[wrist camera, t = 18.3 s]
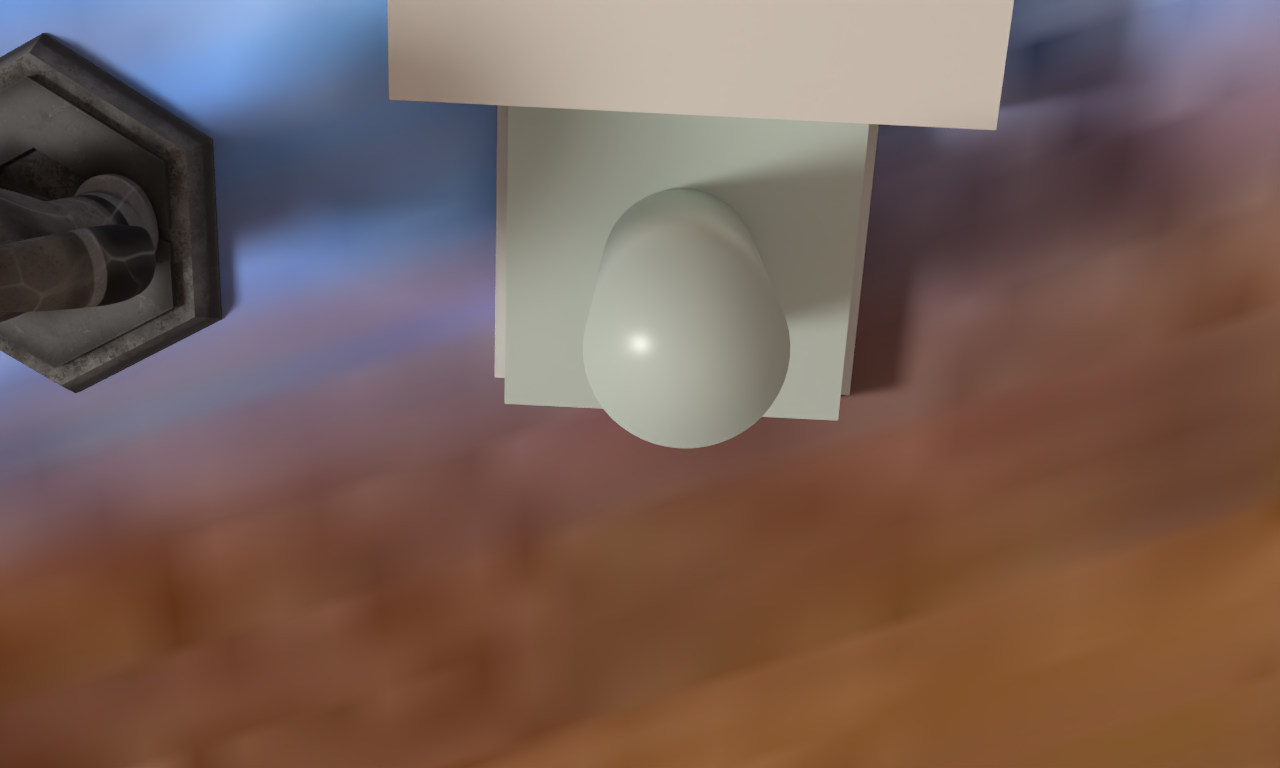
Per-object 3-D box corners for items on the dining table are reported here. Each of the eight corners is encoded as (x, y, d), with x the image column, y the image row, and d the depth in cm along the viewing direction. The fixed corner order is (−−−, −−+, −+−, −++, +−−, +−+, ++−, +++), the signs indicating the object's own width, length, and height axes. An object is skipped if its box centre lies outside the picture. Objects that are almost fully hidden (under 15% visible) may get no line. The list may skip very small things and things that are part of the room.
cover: (515, 95, 30) (452, 127, 21) (859, 112, 30) (946, 152, 21) (511, 386, 32) (453, 528, 23) (830, 403, 32) (895, 551, 23)
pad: (498, 103, 30) (497, 104, 30) (876, 121, 30) (878, 123, 30) (496, 374, 33) (494, 377, 32) (847, 391, 33) (849, 395, 32)
